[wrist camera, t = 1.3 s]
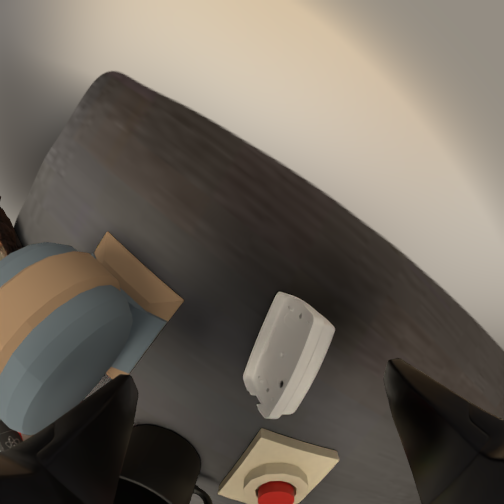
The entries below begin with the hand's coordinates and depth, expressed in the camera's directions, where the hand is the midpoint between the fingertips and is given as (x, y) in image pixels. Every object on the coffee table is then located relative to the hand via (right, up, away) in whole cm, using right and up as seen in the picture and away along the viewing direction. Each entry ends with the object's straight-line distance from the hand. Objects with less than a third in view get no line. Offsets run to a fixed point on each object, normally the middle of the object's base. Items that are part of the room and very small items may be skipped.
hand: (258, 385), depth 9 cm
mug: (-9, -19, +17) cm, 27 cm away
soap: (+1, -3, +12) cm, 12 cm away
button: (+2, -20, +13) cm, 24 cm away
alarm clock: (-14, -2, +17) cm, 22 cm away
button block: (+2, -20, +16) cm, 25 cm away
